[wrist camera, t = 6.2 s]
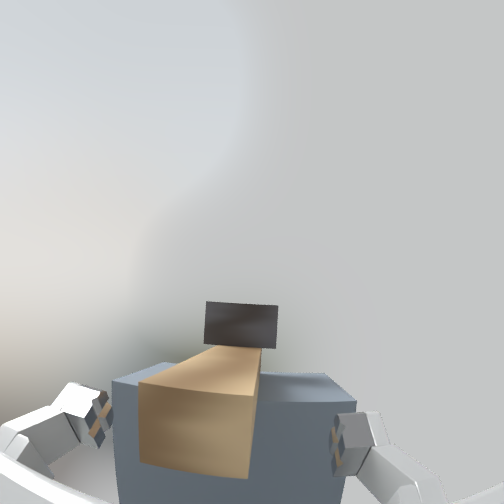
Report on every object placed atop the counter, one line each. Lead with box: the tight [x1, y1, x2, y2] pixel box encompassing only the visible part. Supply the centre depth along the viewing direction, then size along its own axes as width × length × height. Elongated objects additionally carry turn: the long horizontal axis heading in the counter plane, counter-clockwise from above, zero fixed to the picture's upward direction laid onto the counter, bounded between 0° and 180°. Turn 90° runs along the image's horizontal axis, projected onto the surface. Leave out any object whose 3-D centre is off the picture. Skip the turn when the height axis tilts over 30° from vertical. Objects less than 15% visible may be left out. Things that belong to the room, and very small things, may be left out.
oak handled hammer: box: [138, 302, 278, 479], centre depth 16 cm, size 5×18×6 cm, turn 177°
